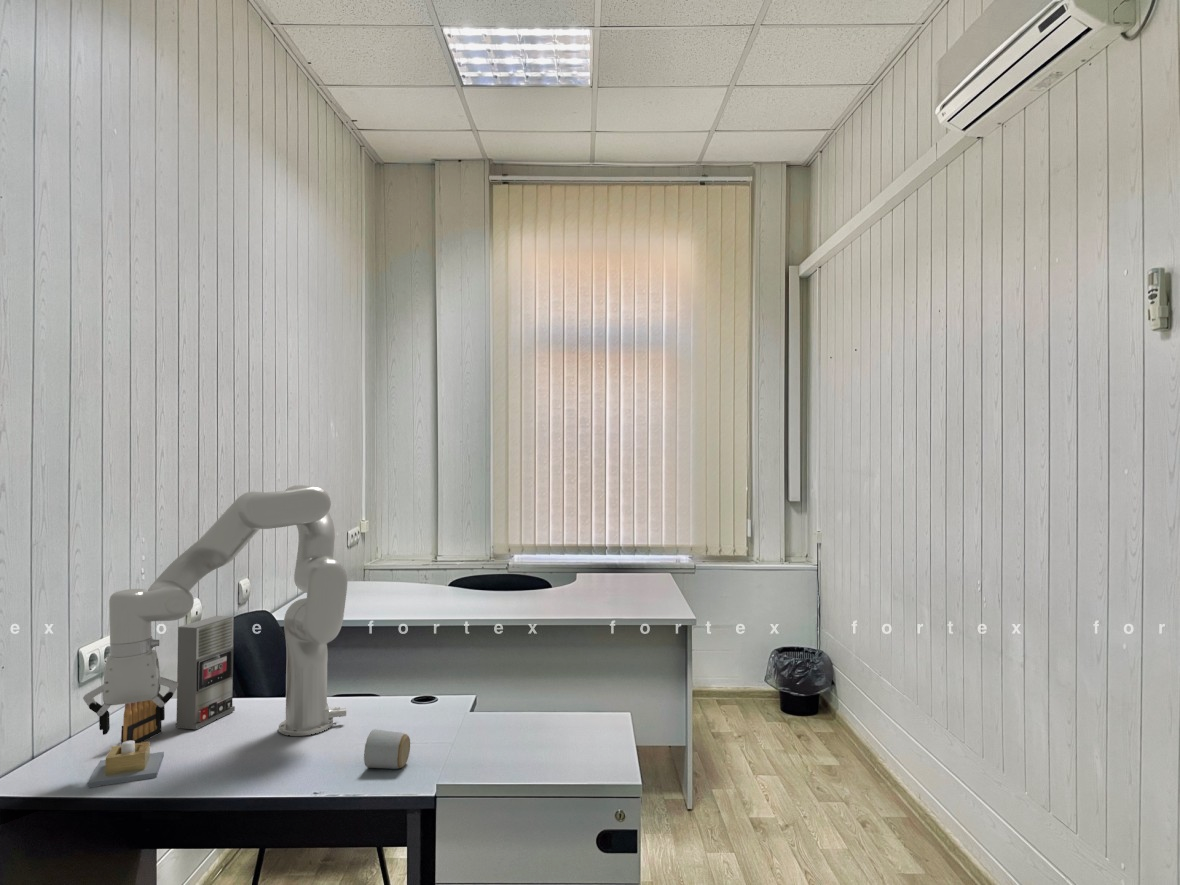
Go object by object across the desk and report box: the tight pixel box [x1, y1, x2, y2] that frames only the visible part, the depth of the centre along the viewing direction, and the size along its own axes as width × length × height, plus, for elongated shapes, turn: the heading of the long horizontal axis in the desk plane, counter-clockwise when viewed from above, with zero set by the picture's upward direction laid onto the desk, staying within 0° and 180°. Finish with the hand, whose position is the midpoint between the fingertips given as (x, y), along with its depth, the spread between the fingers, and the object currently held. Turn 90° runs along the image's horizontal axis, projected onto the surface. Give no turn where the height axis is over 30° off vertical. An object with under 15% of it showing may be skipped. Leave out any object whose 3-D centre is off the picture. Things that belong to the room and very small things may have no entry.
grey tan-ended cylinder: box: [363, 728, 411, 770], centre depth 159 cm, size 11×8×8 cm
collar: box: [105, 741, 151, 776], centre depth 154 cm, size 7×7×4 cm
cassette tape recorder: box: [175, 615, 236, 731], centre depth 186 cm, size 14×6×25 cm, turn 168°
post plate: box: [87, 741, 165, 788], centre depth 154 cm, size 12×12×6 cm
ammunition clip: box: [120, 700, 163, 745], centre depth 172 cm, size 11×2×12 cm, turn 171°
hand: (132, 728), depth 155 cm, fingers open, 9 cm apart
